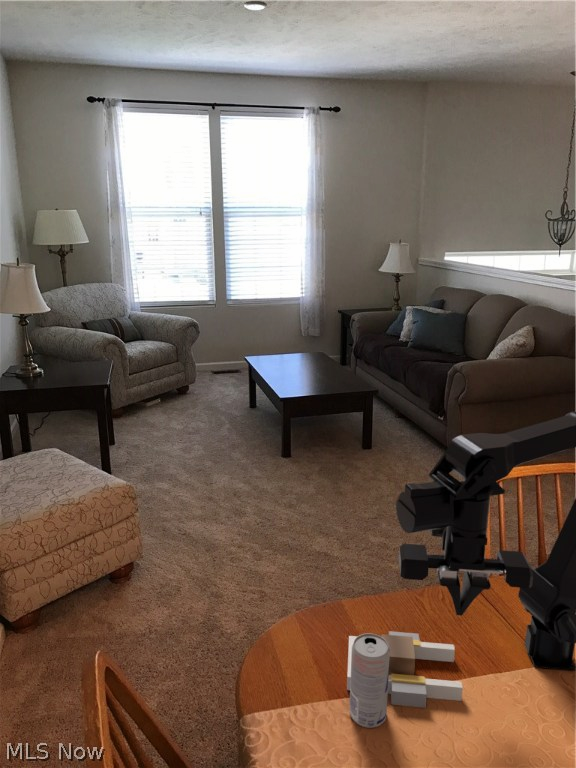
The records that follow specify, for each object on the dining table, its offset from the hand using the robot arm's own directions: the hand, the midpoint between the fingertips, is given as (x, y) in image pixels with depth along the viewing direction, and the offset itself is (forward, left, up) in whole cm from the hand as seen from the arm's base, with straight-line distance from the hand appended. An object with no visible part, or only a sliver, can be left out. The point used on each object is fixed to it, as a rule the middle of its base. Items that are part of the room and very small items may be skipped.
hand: (458, 613), depth 90 cm
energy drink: (+13, +9, -12) cm, 20 cm away
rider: (+9, 0, -12) cm, 15 cm away
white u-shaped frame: (+7, 0, -12) cm, 14 cm away
